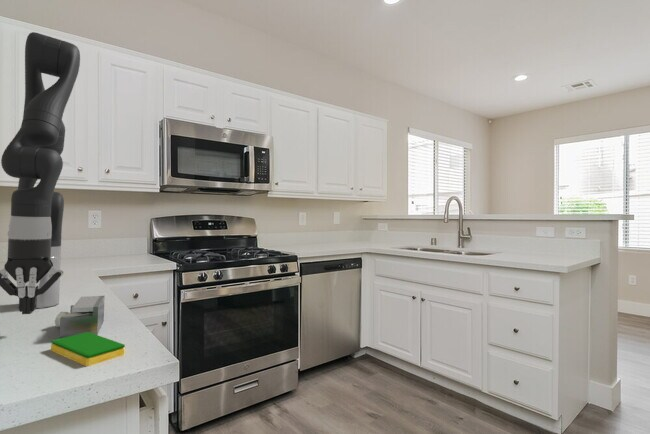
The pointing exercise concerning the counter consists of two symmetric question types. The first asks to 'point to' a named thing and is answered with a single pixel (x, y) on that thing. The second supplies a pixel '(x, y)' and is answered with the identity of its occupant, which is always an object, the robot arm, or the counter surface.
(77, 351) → the dish sponge
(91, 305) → the bracket
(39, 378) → the counter surface
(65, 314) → the pipe fitting
